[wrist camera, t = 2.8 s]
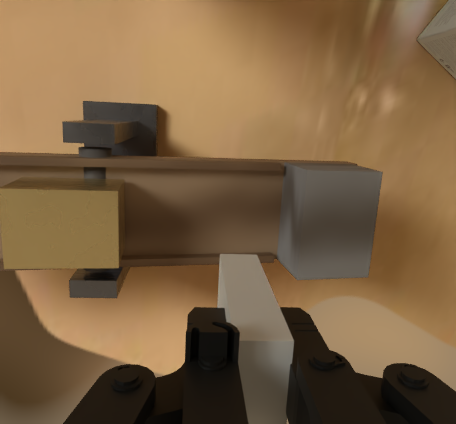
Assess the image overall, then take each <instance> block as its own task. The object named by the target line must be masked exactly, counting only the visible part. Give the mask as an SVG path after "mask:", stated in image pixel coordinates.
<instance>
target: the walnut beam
mask: <svg viewBox="0 0 456 424" xmlns="http://www.w3.org/2000/svg"><path fill="white" fill-rule="evenodd" d="M382 173H383V172H381V171H377V170H373V169H369V168H365V167H361V166H357V164H354V163H350V162H340V161H304V160H267V159H231V158H195V157H158V156H122V155H112V148H107V147H79V154H49V153H13V152H0V187H2V186H4V185H6V184H8V183H11V182H13V181H15V180H17V179H19V178H21V177H55V178H93V179H125V248H124V252H123V255H122V259H121V262H120V266H119V267H142V266H175V265H209V264H219V263H220V254H250V255H257V256H258V258H259V261H260V263H274V259H278V260H279V261H280V263H281V264H282V265H283V266H284V267H285V268H286V269H287V270H288V271H289V272H290V273H291V274H292V275H293V276H294V277H295V278H296V279H297V280H312V279H337V278H362V277H368V275H369V268H370V260H371V253H372V246H373V238H374V231H375V224H376V217H377V209H378V202H379V195H380V187H381V180H382ZM83 269H84V270H86V271H89V272H102V271H107V270H109V269H111V268H83ZM3 270H4V271H6V270H41V269H4V262H3V250H2V237H1V224H0V271H3Z"/></svg>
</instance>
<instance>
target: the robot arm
mask: <svg viewBox="0 0 456 424" xmlns="http://www.w3.org/2000/svg"><path fill="white" fill-rule="evenodd" d="M287 418H288V422H289V424H456V391H454V390H453V389H452V388H450V387H449V386H448V385H446V384H445V383H444V382H442V381H441V380H440V379H439V378H437V377H436V376H435V375H433V374H432V373H430V372H428V371H427V370H425V369H422V368H420V367H417V366H415V365H412V364H406V363H397V364H391V365H389V366H387V367H386V368H385V370H384V372H383V378H378V377H373V376H368V375H364V374H360V373H356V372H355V371H354V370H353V368H352V366H351V365H350V363H349V362H348V361H347V360H346V359H345V357H343V356H342V355H340V354H338V353H336V352H334V351H330V350H329V349H328V347H327V345H326V343H325V342H324V340H323V338H322V336H321V334H320V333H319V332H318V329H317V327H316V326H315V325H314V322H313V320H312V319H311V317H310V315H309V314H308V313H306V312H305V311H303V310H302V309H301V308H288V307H279V305H278V302H277V300H276V298H275V295H274V293H273V291H272V288H271V286H270V284H269V281H268V279H267V277H266V275H265V272H264V270H263V268H262V265H261V263H260V261H259V258H258V256H257V255H250V254H220V263H219V284H218V306H217V308H200V307H195V308H194V309H193V310H192V311H191V312H190V313H189V314H188V323H187V331H186V349H185V363H184V364H183V365H182V367H181V368H179V369H178V370H177V371H175V372H173V373H171V374H168V375H165V376H162V377H157V378H155V375H154V373H153V372H152V371H151V370H150V369H148V368H147V367H144V366H140V365H131V364H126V365H121V366H116V367H114V368H112V369H109V370H107V371H106V372H105V373H103V374H102V375H101V376H100V377H99V378H98V379H97V381H96V382H95V383H94V385H93V386H92V387H91V389H90V390H89V391H88V393H87V394H86V395H85V396H84V397H83V399H82V400H81V401H80V403H79V404H78V405H77V407H76V408H75V409H74V410H73V412H72V413H71V414H70V415H69V417H68V418H67V419H66V421H65V422H64V423H63V424H286V422H287Z"/></svg>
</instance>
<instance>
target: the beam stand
mask: <svg viewBox="0 0 456 424" xmlns="http://www.w3.org/2000/svg"><path fill="white" fill-rule="evenodd" d="M157 110H158V105H150V104H131V103H112V102H93V101H83V115H84V120H82V121H66V122H63V142H67V143H84V147H107V148H112V155H122V156H157ZM129 268H130V267H119V268H111V269H109V270H107V271H102V272H89V271H86V270H84V269H83V268H80V269H77V271H76V272H75V273H74V275H73V276H72V277H71V279H70V280H69V288H70V297H72V298H117V296H118V294H119V292H120V289H121V287H122V285H123V282H124V280H125V278H126V275H127V273H128V271H129Z"/></svg>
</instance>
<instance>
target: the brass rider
mask: <svg viewBox="0 0 456 424" xmlns="http://www.w3.org/2000/svg"><path fill="white" fill-rule="evenodd" d="M0 224H1V237H2V250H3V262H4V269H80V268H119V266H120V262H121V259H122V255H123V252H124V248H125V179H93V178H55V177H21V178H19V179H17V180H15V181H13V182H11V183H8V184H6V185H4V186H2V187H0Z"/></svg>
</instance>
